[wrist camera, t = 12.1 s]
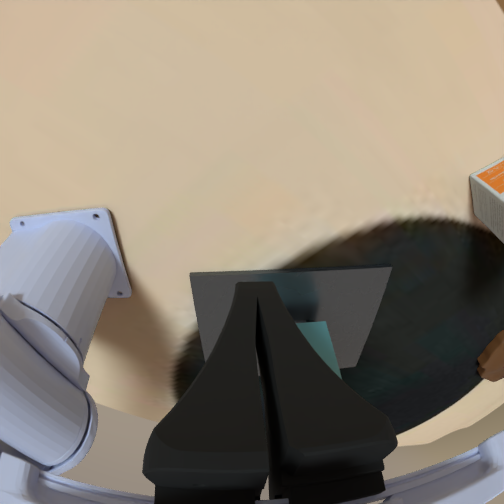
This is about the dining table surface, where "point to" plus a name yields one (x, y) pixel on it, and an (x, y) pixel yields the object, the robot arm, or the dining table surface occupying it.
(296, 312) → the dark grey square tile
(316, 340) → the teal box
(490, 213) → the skincare box
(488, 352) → the plant
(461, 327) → the dining table surface
